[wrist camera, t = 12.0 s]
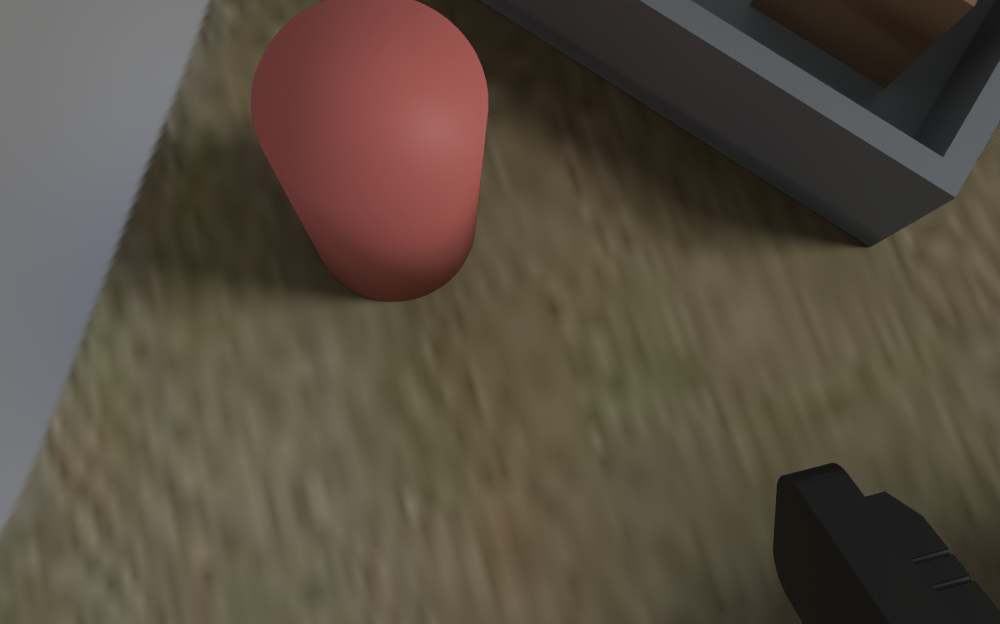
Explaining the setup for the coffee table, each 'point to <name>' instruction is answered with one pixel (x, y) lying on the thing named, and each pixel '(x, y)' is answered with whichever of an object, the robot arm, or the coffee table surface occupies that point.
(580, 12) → the tote
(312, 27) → the red capsule
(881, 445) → the coffee table surface
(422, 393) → the coffee table surface
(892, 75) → the walnut cube
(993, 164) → the coffee table surface
